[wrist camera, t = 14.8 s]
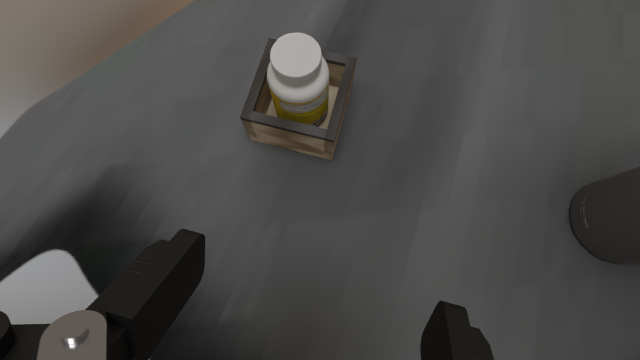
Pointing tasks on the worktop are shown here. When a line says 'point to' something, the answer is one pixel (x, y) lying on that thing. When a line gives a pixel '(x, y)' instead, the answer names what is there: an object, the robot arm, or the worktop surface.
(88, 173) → the worktop surface
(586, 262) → the worktop surface
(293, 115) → the pill bottle
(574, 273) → the worktop surface
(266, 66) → the wooden box
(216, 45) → the worktop surface
